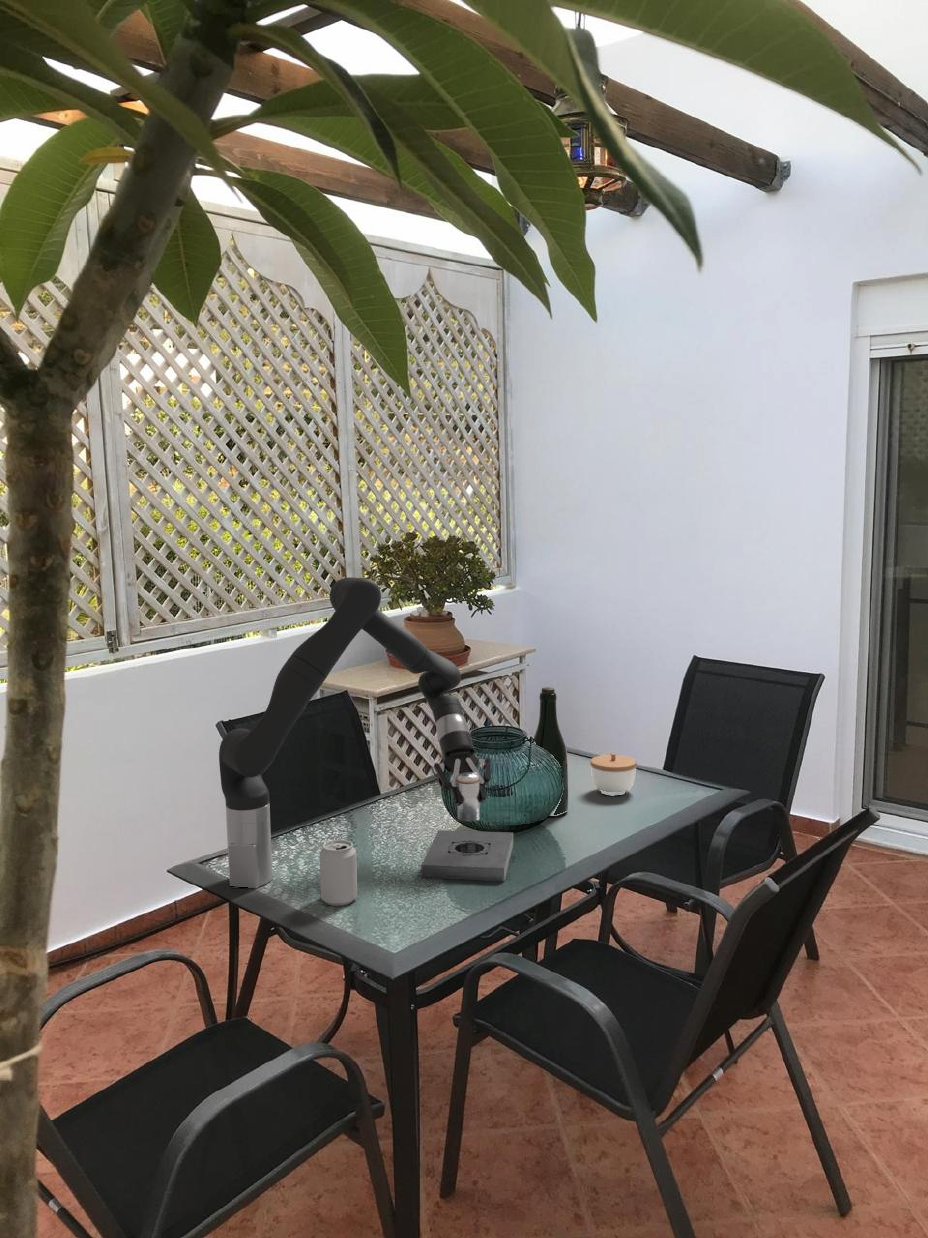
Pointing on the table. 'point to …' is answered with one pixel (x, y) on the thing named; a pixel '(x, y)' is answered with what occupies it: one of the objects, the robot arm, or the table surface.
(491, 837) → the plate
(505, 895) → the table surface
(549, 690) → the dark wine bottle
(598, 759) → the lidded bowl
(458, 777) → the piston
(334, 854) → the can
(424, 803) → the table surface
